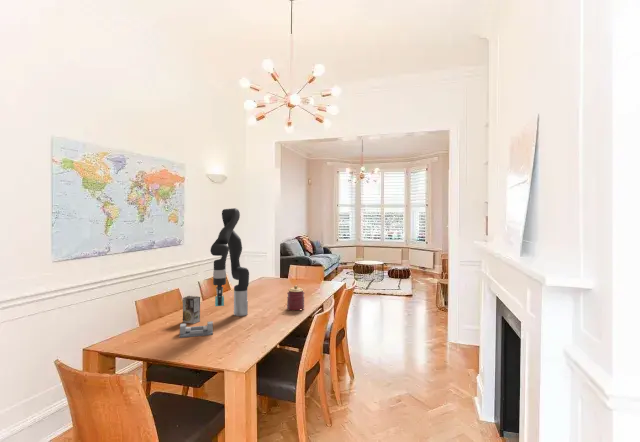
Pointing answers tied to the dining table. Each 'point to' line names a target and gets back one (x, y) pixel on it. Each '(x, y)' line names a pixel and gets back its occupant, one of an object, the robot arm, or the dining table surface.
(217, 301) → the coupler
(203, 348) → the dining table surface
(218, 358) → the dining table surface
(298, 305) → the canister
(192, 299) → the coffee box
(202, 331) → the shaft bench
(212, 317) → the dining table surface
